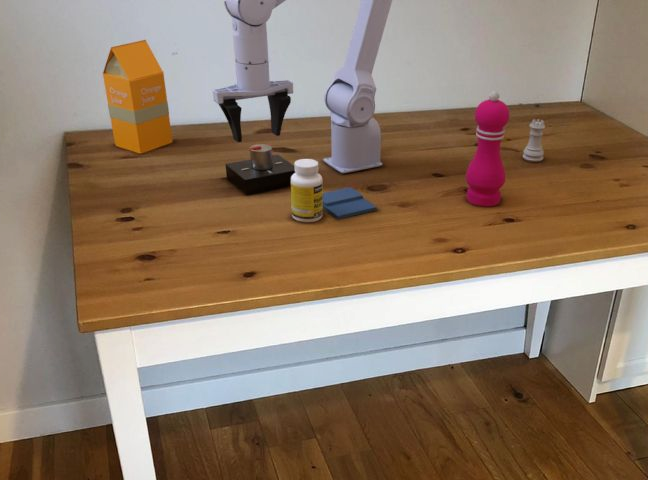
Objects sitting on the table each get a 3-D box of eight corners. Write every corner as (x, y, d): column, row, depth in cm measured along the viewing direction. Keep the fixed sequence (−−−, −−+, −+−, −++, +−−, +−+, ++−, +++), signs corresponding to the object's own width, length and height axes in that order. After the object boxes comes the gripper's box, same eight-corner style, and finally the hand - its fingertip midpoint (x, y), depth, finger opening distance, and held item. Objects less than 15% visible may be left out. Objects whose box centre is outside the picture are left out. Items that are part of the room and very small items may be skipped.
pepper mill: (506, 196, 145) (519, 88, 133) (497, 210, 139) (510, 99, 128) (469, 189, 146) (479, 83, 135) (459, 203, 141) (469, 93, 129)
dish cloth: (351, 192, 143) (351, 186, 142) (376, 210, 137) (376, 203, 136) (313, 201, 139) (312, 194, 138) (337, 219, 133) (337, 212, 132)
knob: (267, 161, 146) (266, 141, 144) (276, 168, 144) (275, 147, 141) (247, 164, 144) (246, 144, 142) (256, 171, 142) (255, 151, 139)
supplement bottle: (318, 225, 131) (316, 170, 125) (287, 221, 132) (285, 166, 126) (326, 212, 135) (326, 158, 130) (297, 208, 136) (295, 155, 131)
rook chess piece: (519, 160, 161) (524, 122, 156) (525, 153, 164) (530, 116, 160) (540, 164, 159) (546, 126, 155) (545, 157, 163) (551, 120, 158)
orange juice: (173, 142, 161) (160, 42, 150) (140, 154, 155) (124, 50, 144) (147, 134, 164) (132, 36, 153) (114, 145, 158) (96, 44, 147)
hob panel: (278, 168, 151) (278, 153, 150) (300, 184, 145) (299, 168, 143) (226, 178, 146) (225, 162, 144) (246, 195, 140) (244, 179, 138)
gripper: (279, 51, 139) (283, 125, 147) (203, 59, 132) (211, 136, 140) (297, 60, 134) (300, 136, 142) (219, 69, 127) (226, 148, 135)
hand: (257, 137), depth 140 cm, fingers open, 7 cm apart
